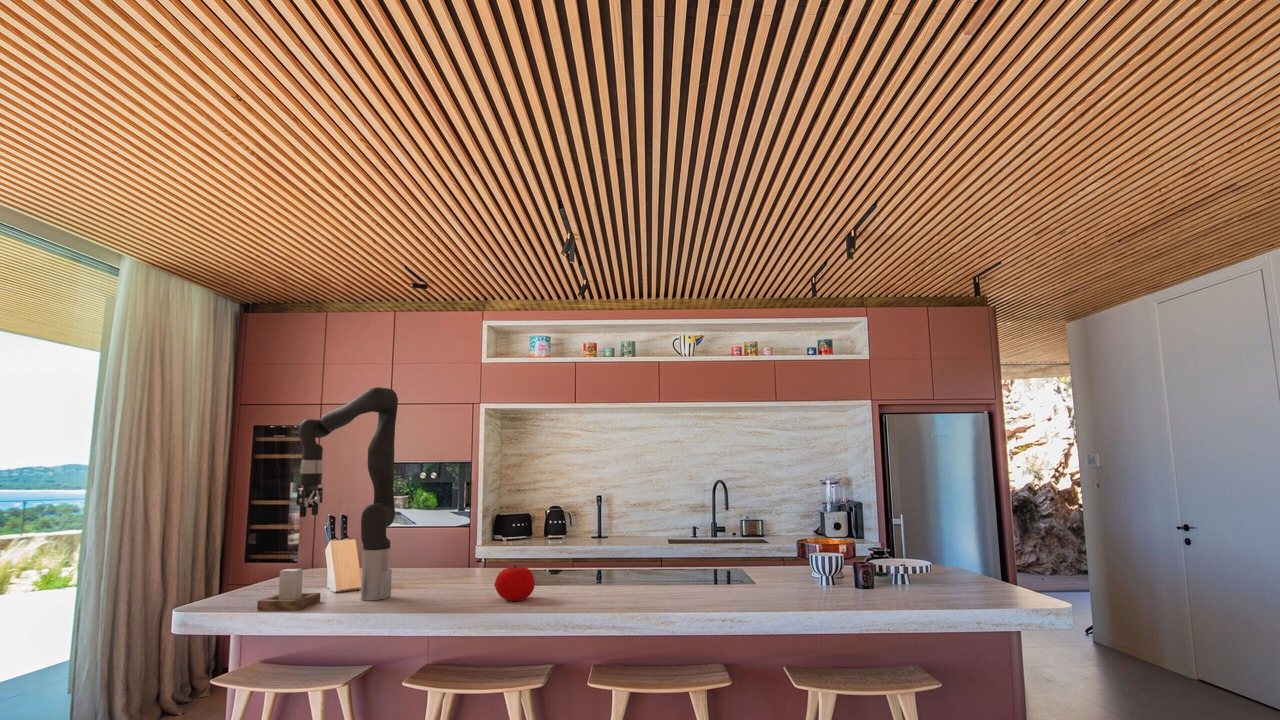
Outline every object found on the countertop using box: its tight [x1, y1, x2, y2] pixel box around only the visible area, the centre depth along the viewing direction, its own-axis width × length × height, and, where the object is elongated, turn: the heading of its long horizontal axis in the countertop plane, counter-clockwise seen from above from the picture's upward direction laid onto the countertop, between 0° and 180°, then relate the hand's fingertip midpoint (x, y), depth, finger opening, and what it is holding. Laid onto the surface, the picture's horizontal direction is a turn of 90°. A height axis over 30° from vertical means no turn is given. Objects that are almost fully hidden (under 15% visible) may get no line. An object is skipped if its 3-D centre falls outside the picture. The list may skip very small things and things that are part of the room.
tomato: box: [494, 564, 536, 602], centre depth 246 cm, size 13×14×12 cm
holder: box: [256, 592, 321, 612], centre depth 239 cm, size 14×14×3 cm
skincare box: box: [278, 568, 304, 600], centre depth 240 cm, size 6×4×12 cm
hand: (308, 516), depth 263 cm, fingers open, 8 cm apart
